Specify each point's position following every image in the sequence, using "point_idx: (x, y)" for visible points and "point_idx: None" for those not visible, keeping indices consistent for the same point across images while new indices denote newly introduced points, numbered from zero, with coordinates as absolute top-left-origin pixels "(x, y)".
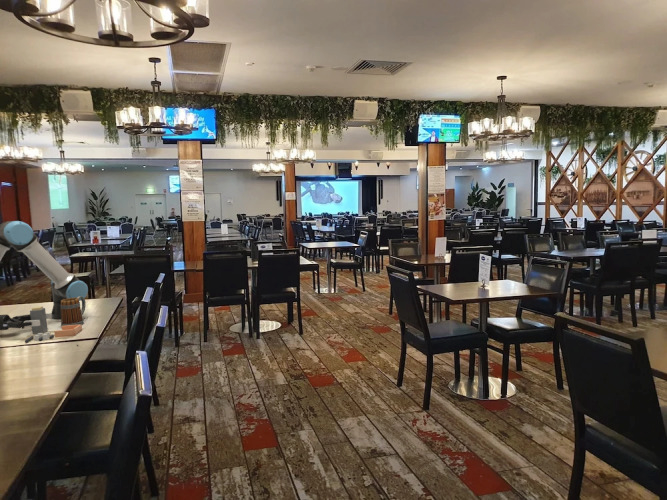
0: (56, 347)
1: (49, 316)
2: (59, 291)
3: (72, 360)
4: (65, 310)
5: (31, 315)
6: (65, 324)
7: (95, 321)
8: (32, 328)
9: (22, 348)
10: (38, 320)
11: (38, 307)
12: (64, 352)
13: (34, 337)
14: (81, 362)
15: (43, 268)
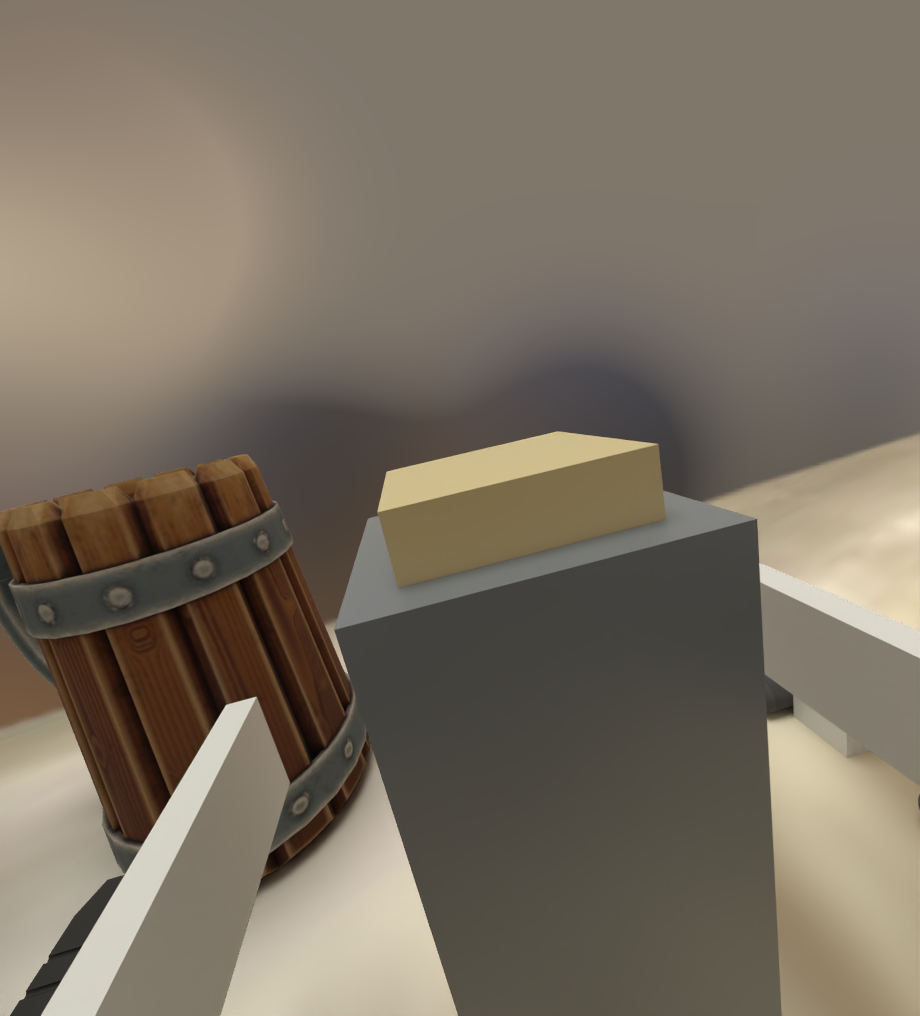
0: (840, 559)
1: (267, 768)
2: None
3: (893, 460)
4: (284, 574)
5: (733, 665)
6: (345, 730)
7: None
8: (768, 996)
9: None
10: (762, 567)
11: (496, 454)
12: (859, 505)
13: (876, 864)
14: (876, 448)
15: None
